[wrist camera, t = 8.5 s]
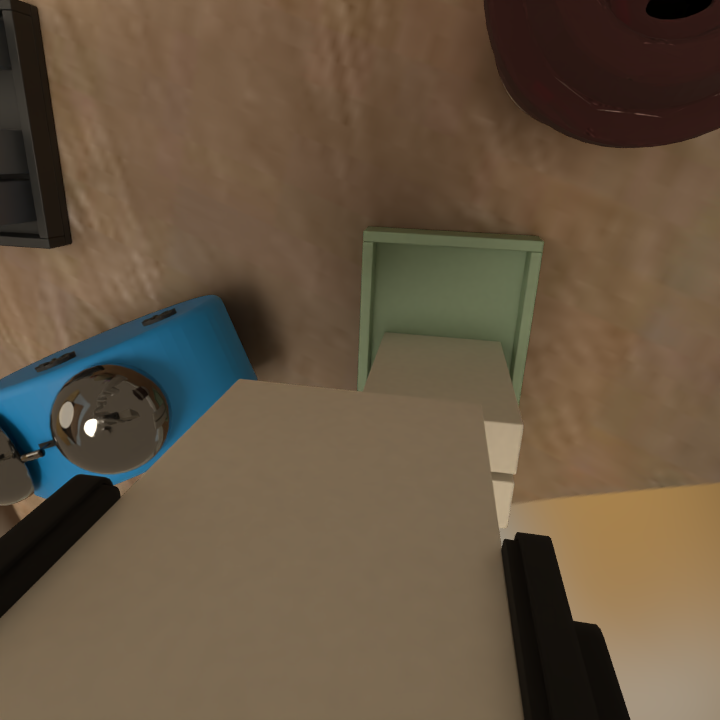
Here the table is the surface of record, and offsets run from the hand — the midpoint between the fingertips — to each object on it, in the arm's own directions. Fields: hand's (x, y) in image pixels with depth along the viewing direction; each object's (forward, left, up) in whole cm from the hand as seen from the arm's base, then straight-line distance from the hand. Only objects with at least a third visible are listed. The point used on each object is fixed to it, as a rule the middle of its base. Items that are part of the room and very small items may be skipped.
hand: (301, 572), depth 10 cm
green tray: (+3, +2, -25) cm, 25 cm away
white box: (0, 0, -6) cm, 6 cm away
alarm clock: (+5, -15, -25) cm, 29 cm away
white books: (+5, +3, -24) cm, 25 cm away
